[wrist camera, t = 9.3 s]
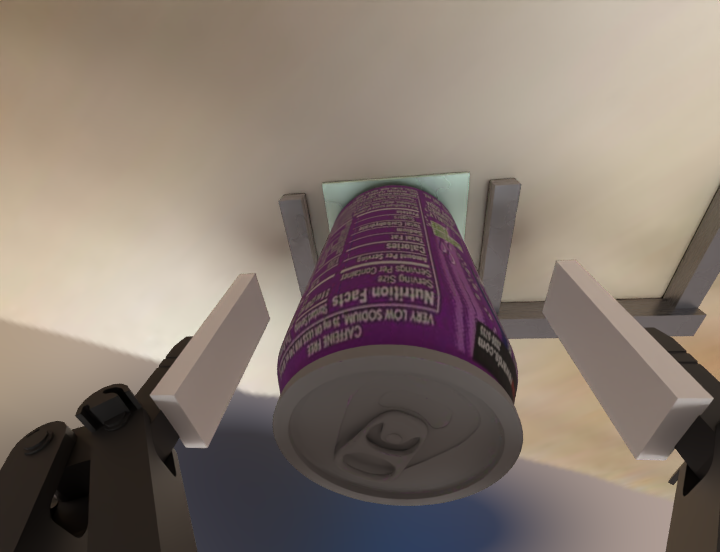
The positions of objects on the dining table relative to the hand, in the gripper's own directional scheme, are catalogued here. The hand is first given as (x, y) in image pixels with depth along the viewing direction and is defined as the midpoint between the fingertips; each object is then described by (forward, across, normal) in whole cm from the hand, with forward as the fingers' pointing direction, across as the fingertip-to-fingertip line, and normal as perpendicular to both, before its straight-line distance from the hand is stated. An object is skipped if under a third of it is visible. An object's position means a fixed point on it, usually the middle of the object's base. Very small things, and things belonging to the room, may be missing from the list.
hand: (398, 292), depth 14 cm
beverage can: (+5, 0, 0) cm, 5 cm away
